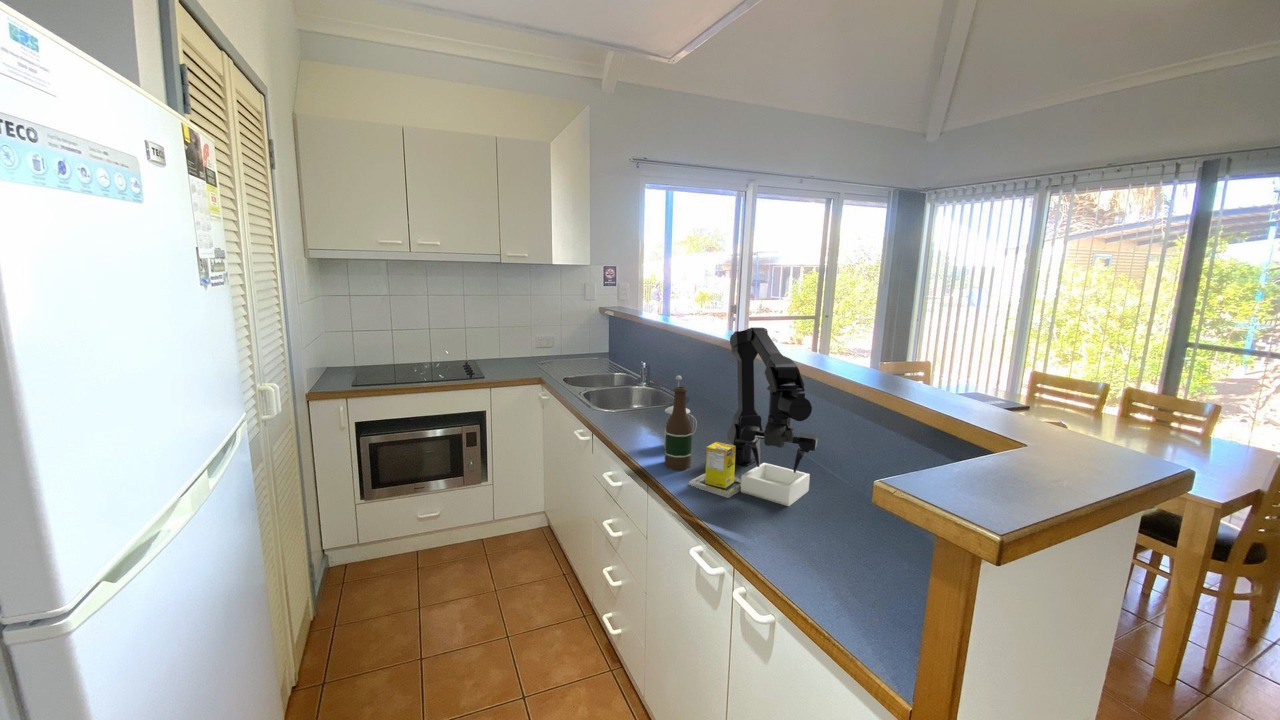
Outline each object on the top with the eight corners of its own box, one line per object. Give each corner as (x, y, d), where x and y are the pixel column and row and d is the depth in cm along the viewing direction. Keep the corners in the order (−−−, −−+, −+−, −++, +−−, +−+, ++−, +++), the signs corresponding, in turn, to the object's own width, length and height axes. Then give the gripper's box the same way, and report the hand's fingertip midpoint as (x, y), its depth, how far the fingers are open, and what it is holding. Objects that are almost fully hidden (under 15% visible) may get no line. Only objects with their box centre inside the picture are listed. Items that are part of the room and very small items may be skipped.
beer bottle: (672, 474, 143) (675, 391, 140) (659, 465, 150) (661, 385, 147) (695, 470, 147) (699, 389, 144) (681, 461, 154) (684, 384, 150)
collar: (712, 473, 145) (712, 469, 145) (750, 484, 137) (750, 480, 137) (688, 485, 136) (689, 481, 135) (728, 498, 128) (728, 493, 128)
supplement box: (734, 484, 137) (736, 445, 136) (724, 491, 132) (726, 451, 131) (714, 479, 140) (716, 441, 139) (704, 486, 135) (706, 446, 134)
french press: (655, 449, 165) (657, 373, 161) (687, 445, 170) (690, 372, 166) (669, 459, 156) (671, 379, 153) (702, 454, 161) (705, 377, 157)
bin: (763, 478, 142) (763, 462, 141) (808, 490, 134) (809, 474, 133) (740, 492, 132) (741, 475, 131) (788, 506, 124) (789, 488, 123)
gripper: (736, 413, 126) (733, 473, 129) (815, 423, 119) (810, 486, 121) (746, 404, 136) (743, 460, 139) (819, 412, 129) (815, 471, 131)
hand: (776, 469), depth 132 cm, fingers open, 9 cm apart
